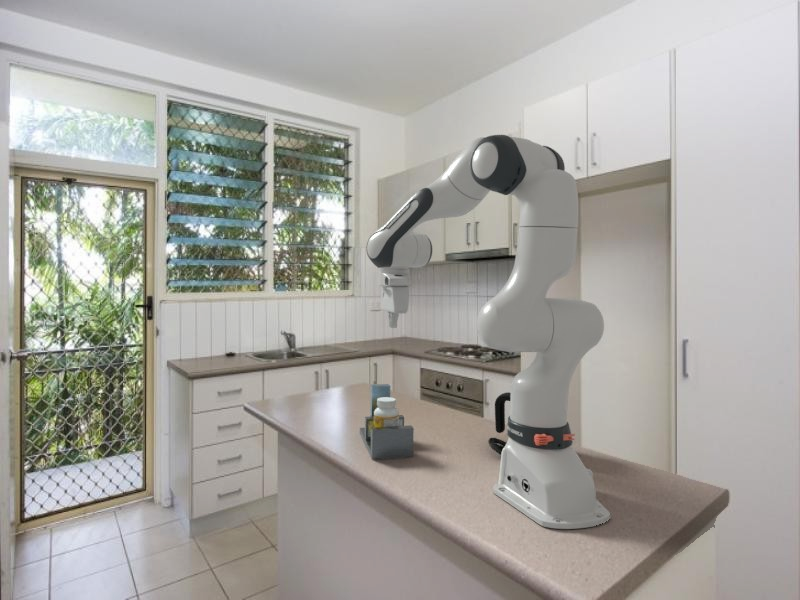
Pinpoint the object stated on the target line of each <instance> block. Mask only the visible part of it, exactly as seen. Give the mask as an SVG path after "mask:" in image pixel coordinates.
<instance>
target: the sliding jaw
mask: <svg viewBox="0 0 800 600" xmlns="http://www.w3.org/2000/svg"><path fill="white" fill-rule="evenodd" d="M381 397H391V385H390V384H389V383H383V384H382V383H381V384H379V383H378V384H370V400H369V401H370V403H369V404H370V406H369V407H370V409H369V410H370V411H369V413H370V414H369V416H364V428H365V440H371V428H374V411H375V409H376V408H378V406H377V399H378V398H381ZM399 426H405V416H404V415H403V414H399Z"/></svg>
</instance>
